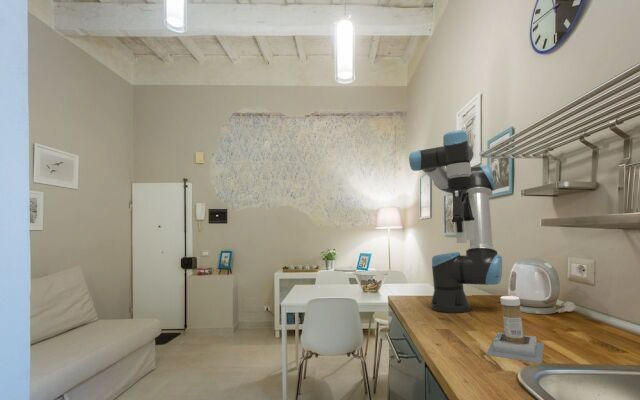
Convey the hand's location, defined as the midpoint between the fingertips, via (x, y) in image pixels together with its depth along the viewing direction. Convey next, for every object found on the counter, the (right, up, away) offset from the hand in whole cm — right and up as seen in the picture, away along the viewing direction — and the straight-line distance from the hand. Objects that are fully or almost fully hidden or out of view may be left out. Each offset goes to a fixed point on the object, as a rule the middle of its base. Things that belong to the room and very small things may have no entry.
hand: (466, 241), depth 107 cm
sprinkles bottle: (+4, -26, -20) cm, 33 cm away
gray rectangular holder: (+4, -27, -21) cm, 34 cm away
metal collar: (+4, -26, -20) cm, 33 cm away
